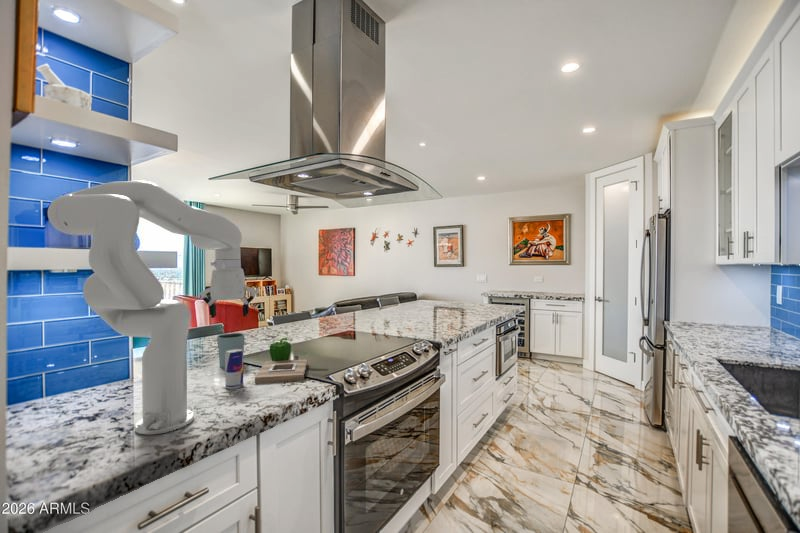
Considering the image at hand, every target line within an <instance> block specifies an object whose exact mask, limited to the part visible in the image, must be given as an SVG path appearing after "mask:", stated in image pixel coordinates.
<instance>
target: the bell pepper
mask: <svg viewBox="0 0 800 533" xmlns="http://www.w3.org/2000/svg"><path fill="white" fill-rule="evenodd" d="M287 340H288V337H282V338H281V339H280V340H279V342H278V341H276V342H274V343H270V345H269V355H270V359H271V361H286V360H290V357H291V352H292V344H291V343H290V342H288V341H287Z"/></svg>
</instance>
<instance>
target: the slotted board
mask: <svg viewBox="0 0 800 533" xmlns="http://www.w3.org/2000/svg"><path fill="white" fill-rule="evenodd" d="M306 366H308V359H289V360H286V361H272V360H270V361H267V360H266V361H265V362H264V363H263V365H262V366H261V368H260V369H259V371H258V372H257V374H256V375H255V376H254V384H264V383H267V384H269V383H285V382H298V381H299V382H300V381H304V378H305V376H304V374H305V375H306V372H305V370H306V371H307V367H306ZM277 369H285V370H277Z"/></svg>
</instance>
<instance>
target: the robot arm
mask: <svg viewBox="0 0 800 533" xmlns="http://www.w3.org/2000/svg"><path fill="white" fill-rule="evenodd" d="M47 218H48V221H49V223H50V224H51V226H53V228H55V229H56V230H57V231H59V232H61V233H64V234H65V235H66V234H67V235H71V236H93V237H92V239H91V243H90V248H89V252H88V264H89V266H90V268H91V270H92V271H93V272H94V273H92V274H91V275H89V276H88V277H87V279H86V280H85V281H84V284H83V288H82V294H83V295H82V296H83V298H84V301H85V302H86V304H87V306H88V307H89V308H90V309H91V310H92V311H93V312H94V313H95V314H96V315H97V316H98V317H99V318H100V319H101V320H103V321H104V322H105V323H106V324H107V325H108V326H109V327H110V328H111V329H112V330H114V331H115V332H116V333H118V334H120V335H122V336H125V337H130V338H131V337H132V338H150V340H149V342H148V343H147V345H146V347H145V348H144V351H143V353H142V356H141V373H142V374H141V375H142V376H141V377H142V378H141V384H142V385H141V386H142V387H141V391H142V393H141V394H142V397H141V398H142V417H141V419H139V420H138V421H137V422H136V423H135V424H134V432H136V433H137V434H140V435H153V436H154V435H159V434H167V433H170V432H173V430H174V431H176V429H177V430H179V429H182V428H184V427H186V426H187V424H188V425H189V424H191V423H192V421H193V420H194V419H195V413H194V411H192V410H191V409H188V392H187V391H188V367H187V366H188V364H187V362H188V361H187V358H188V354H187V351H188V348H187V347H188V337H189V331H190V326H191V321H192V313H191V310H190V308H189V307H188V306H187V305H186V303H184V302H182V301H178V300H174V299H163V298H164V297H165V296H164V294H165V293H164V292H165V291H164V287H163V285H162V283H161V282H160V280H159V279H158V278H157V276H156V275H155V273H153V272H152V270H151V269H150V267H149V266H148V265H147V264H146V263H145V261H144V260H143V258H141V256H140V255H139V253H138V251H137V249H136V243H135V242H136V236H137V231H138V227H139V223H140V218H141V219H144V220H146V221H148V222H150V223H152V224H155V225H157V226H158V227H161V228H162V229H164V230H166V231H167V232H168V231H169V233H170V232H171V233H173V234H177V235H181V236H186V237H187V236H188V237H189V238H190V241H191V243H192V245H193V246H194V247H196V248H197V249H200V250H203V251H204V250H205V251H209V250H210V251H213V250H214V253H215V254H214V255H215V256H214V258H215V259H214V260H213V261H210V266H212V267H214V268H215V269H212V272H211V279H210V287H208V288H206V289H204V290H201V292H199V295H200V296H201V299H203V301H204V303H206V304H207V306H209V316H211V317H210V318H212V319H214V318H215V317H217V305H216V302H217V301H229V300H230V301H231V300H235V301H236V300H240V301H241V302H242V303H243V304H242V317H247V316H248V314H249V313H250V305H249V304H250V303H251V302H252V301H253V300H254V298H255V296H256V294H257V293H258V290H256V289H255V288H252V287H250V286H248V285H246V278H245V272H244V269H243V268H242V264H241V263H242V262H241V261H242V260H241V256H242V255H241V244H242V241H243V235H242V232H241V230H240V229H239V227H238V226H237V225H236V224H235V223H233V222H232V221H231V220H229V219H228V218H226V217H224V216H222V215H219V214H217V213H214V212H211V211H208V210H204V209H201V208H199V207H195V206H191V205H189V204H188V203H187V202H184V200H181V199H180V198H178V197H177V196H175V195H173V194H172V193H170V192H169V191H167V190H166V189H164V188H163V187H161V186H159V185H158V184H156V183H154V182H152V181H148V180H147V181H146V180H127V181H126V180H125V181H123V180H122V181H118V180H117V181H109V182H105V183H102V184H98V185H94V186H90V187H87V188H84V189H80V190H77V191H74V192H69V193H65V194H63V195H61V196H58V197H56V198H55V199H54V200H53V201H52V202H51V203H50V204H49V206H48V209H47ZM247 292H249V293H251V294H250V296H249V297H247ZM209 293H210V294H209ZM207 294H209V295H210V297H208V295H207ZM169 431H170V432H169Z"/></svg>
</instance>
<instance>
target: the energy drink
mask: <svg viewBox="0 0 800 533" xmlns="http://www.w3.org/2000/svg"><path fill="white" fill-rule="evenodd" d="M243 357H244V352H243V351H242V349H230V350H227V351H226V353H225V368H224V370H225V372H224V374H225V388H226V389H227V390H228V389H229V390H236V389H239V388H242V387H243V386H244V359H243Z"/></svg>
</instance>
